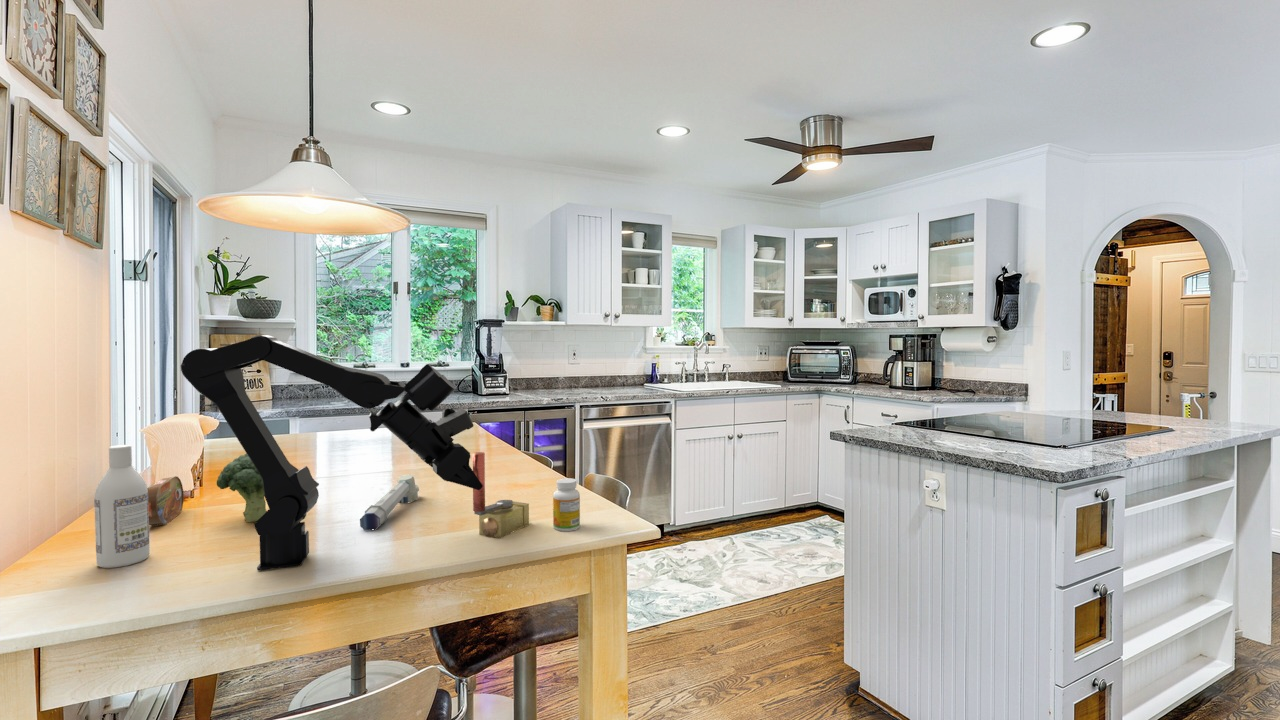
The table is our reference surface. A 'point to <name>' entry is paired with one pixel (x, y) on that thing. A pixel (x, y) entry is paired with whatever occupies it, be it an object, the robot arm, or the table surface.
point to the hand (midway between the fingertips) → (474, 482)
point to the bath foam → (121, 512)
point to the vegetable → (245, 486)
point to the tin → (165, 500)
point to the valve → (504, 520)
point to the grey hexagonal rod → (390, 502)
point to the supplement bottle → (566, 505)
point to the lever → (480, 494)
